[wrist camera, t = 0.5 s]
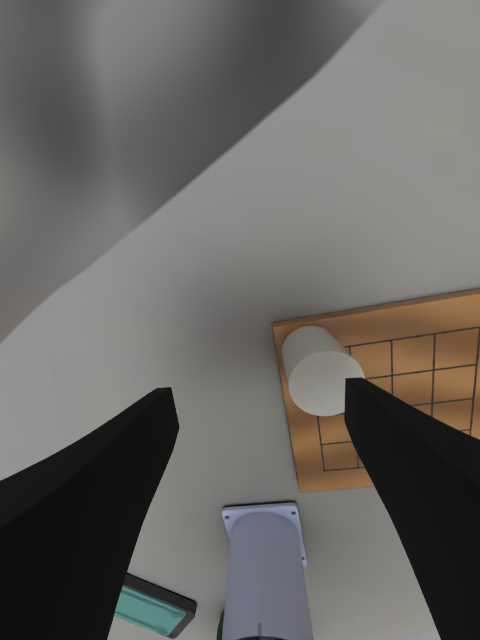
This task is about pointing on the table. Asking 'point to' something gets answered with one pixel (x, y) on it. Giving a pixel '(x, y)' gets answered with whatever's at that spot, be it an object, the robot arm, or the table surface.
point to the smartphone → (154, 608)
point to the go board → (390, 376)
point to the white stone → (317, 370)
